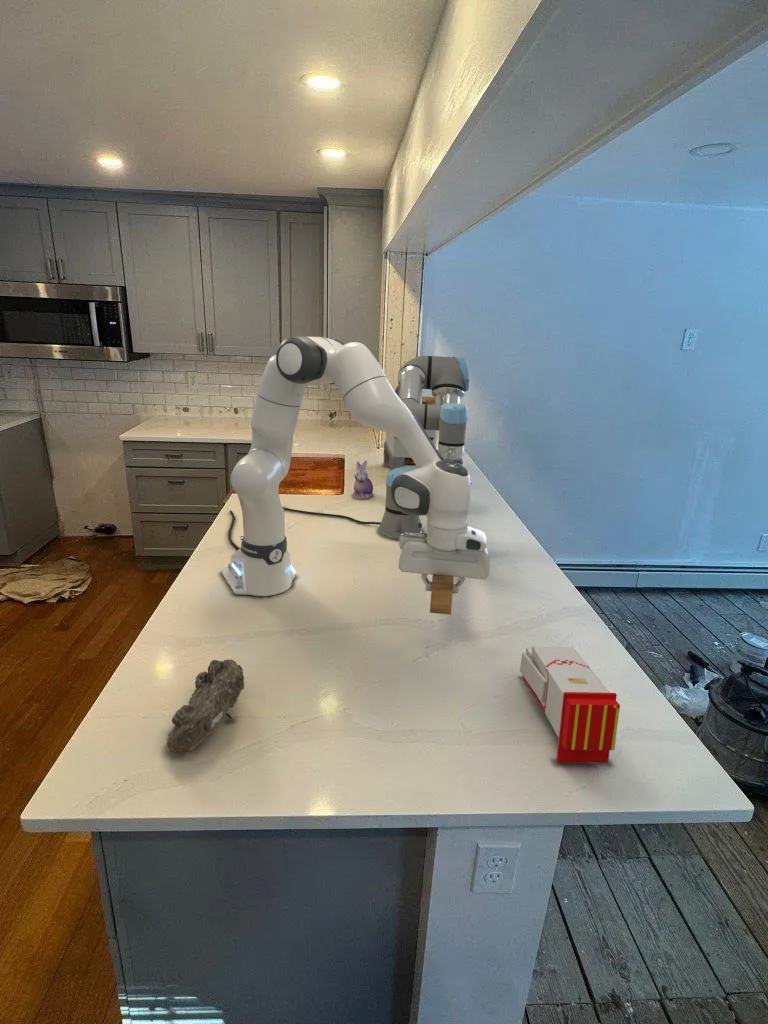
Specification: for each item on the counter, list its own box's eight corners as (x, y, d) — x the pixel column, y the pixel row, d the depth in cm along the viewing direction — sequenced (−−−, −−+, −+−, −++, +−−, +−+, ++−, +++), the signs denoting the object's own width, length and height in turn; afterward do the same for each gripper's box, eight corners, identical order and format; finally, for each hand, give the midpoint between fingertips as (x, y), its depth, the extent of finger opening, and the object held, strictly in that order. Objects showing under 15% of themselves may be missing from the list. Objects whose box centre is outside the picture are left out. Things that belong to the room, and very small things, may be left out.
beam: (436, 529, 176) (438, 505, 173) (451, 530, 175) (453, 506, 173) (429, 612, 126) (432, 581, 123) (450, 614, 125) (453, 582, 123)
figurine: (357, 501, 231) (358, 465, 226) (347, 493, 240) (348, 459, 235) (378, 498, 235) (379, 463, 230) (367, 491, 244) (368, 457, 239)
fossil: (192, 660, 117) (244, 628, 112) (224, 691, 120) (276, 661, 115) (142, 746, 98) (202, 712, 93) (182, 779, 101) (242, 748, 96)
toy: (568, 628, 125) (630, 701, 96) (562, 684, 128) (620, 770, 99) (514, 627, 125) (559, 699, 96) (509, 683, 128) (551, 770, 98)
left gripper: (397, 536, 123) (395, 593, 127) (493, 544, 121) (487, 602, 125) (400, 526, 129) (398, 580, 133) (492, 533, 126) (486, 589, 131)
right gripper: (417, 459, 161) (413, 534, 169) (481, 464, 158) (473, 541, 166) (420, 452, 168) (415, 526, 176) (481, 457, 165) (474, 531, 173)
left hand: (441, 591), depth 129 cm, fingers closed on beam, 5 cm apart
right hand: (443, 533), depth 171 cm, fingers closed on beam, 5 cm apart
